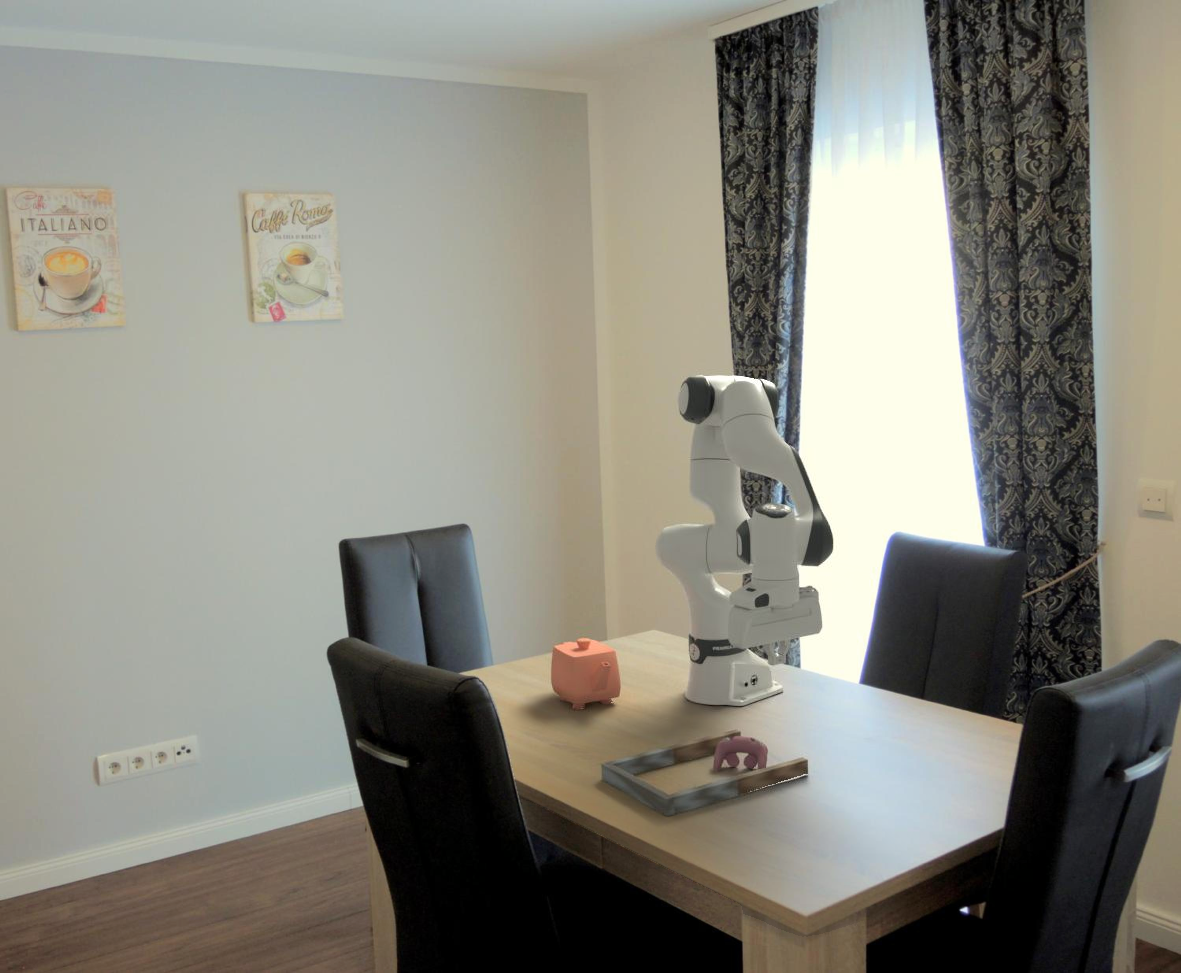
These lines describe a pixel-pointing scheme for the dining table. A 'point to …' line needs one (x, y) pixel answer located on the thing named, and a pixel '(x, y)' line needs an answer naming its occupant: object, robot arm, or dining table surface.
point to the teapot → (585, 672)
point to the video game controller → (740, 745)
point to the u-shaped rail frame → (670, 804)
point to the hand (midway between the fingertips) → (777, 663)
